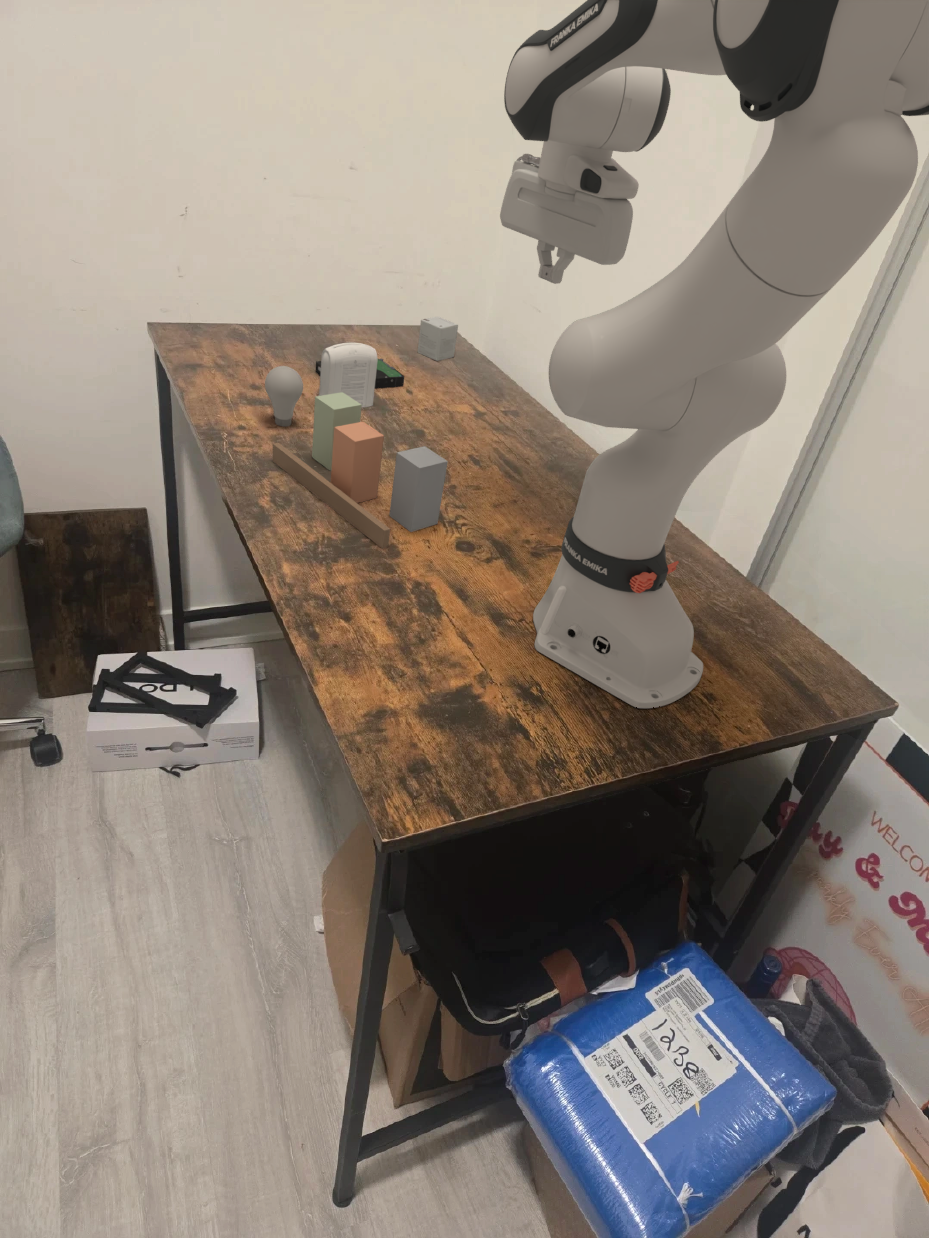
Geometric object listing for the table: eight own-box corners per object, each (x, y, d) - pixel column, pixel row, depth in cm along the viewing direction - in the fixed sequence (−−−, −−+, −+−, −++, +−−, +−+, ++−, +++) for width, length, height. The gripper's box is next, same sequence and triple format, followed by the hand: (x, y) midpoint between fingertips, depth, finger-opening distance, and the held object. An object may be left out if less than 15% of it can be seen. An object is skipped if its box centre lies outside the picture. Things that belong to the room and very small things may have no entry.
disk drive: (337, 395, 151) (404, 388, 159) (338, 381, 149) (405, 375, 157) (314, 374, 157) (379, 369, 165) (314, 360, 156) (380, 356, 163)
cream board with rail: (475, 526, 118) (480, 501, 116) (373, 559, 107) (376, 533, 104) (364, 448, 133) (366, 425, 131) (264, 470, 122) (265, 445, 119)
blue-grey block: (437, 523, 114) (447, 461, 108) (410, 532, 111) (419, 468, 105) (415, 508, 117) (424, 446, 111) (389, 515, 114) (396, 452, 108)
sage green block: (356, 464, 125) (361, 404, 119) (330, 470, 122) (334, 409, 116) (338, 451, 128) (342, 392, 122) (311, 457, 125) (315, 396, 119)
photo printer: (365, 404, 148) (371, 338, 141) (375, 413, 146) (382, 346, 138) (314, 408, 143) (318, 340, 136) (324, 418, 140) (329, 349, 133)
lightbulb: (287, 420, 137) (289, 358, 131) (308, 434, 134) (311, 371, 127) (257, 426, 133) (257, 363, 127) (277, 441, 130) (279, 376, 124)
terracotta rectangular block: (377, 497, 118) (384, 435, 112) (349, 505, 115) (355, 441, 109) (357, 483, 120) (363, 421, 114) (330, 489, 117) (334, 427, 111)
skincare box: (454, 357, 177) (459, 324, 173) (436, 362, 173) (441, 328, 169) (434, 348, 180) (439, 315, 175) (416, 352, 176) (420, 319, 171)
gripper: (500, 149, 105) (482, 259, 113) (618, 186, 94) (588, 305, 102) (532, 151, 108) (513, 258, 117) (649, 187, 98) (618, 302, 106)
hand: (549, 280), depth 109 cm, fingers closed
